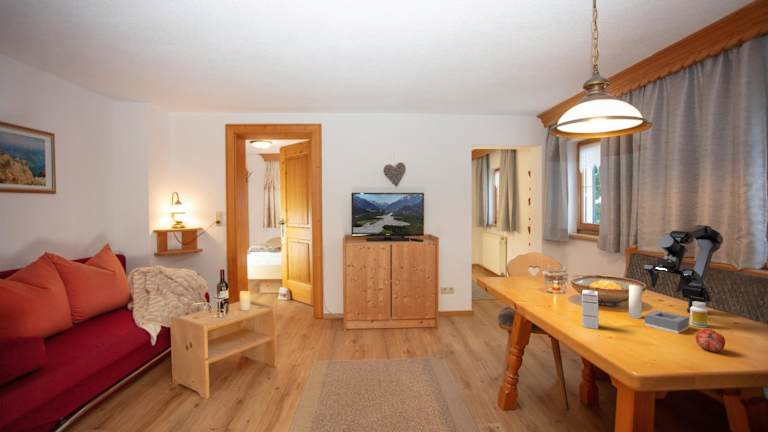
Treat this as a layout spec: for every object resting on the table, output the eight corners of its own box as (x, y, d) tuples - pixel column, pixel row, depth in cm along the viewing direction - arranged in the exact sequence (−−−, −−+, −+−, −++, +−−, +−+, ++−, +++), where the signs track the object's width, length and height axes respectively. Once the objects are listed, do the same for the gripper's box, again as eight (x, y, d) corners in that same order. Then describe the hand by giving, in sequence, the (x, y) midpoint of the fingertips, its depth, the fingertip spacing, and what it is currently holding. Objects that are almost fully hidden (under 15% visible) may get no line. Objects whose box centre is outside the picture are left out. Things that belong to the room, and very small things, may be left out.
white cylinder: (629, 314, 155) (629, 284, 154) (641, 316, 152) (642, 285, 151) (628, 317, 151) (628, 286, 151) (641, 319, 148) (641, 287, 148)
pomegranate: (695, 350, 122) (688, 338, 117) (703, 332, 123) (696, 320, 118) (723, 360, 115) (717, 348, 111) (731, 342, 116) (725, 329, 112)
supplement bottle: (710, 328, 137) (711, 304, 137) (695, 327, 138) (695, 304, 138) (701, 323, 142) (701, 300, 142) (686, 322, 143) (686, 300, 143)
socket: (655, 320, 147) (656, 310, 146) (688, 328, 137) (688, 317, 137) (644, 325, 141) (644, 314, 141) (678, 333, 131) (678, 322, 131)
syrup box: (598, 329, 137) (598, 294, 136) (581, 326, 140) (581, 292, 139) (598, 325, 141) (598, 291, 141) (582, 322, 145) (582, 289, 144)
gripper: (641, 247, 154) (631, 278, 152) (692, 252, 137) (682, 287, 135) (654, 257, 158) (644, 287, 156) (705, 262, 141) (695, 297, 139)
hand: (664, 289), depth 146 cm, fingers open, 9 cm apart
